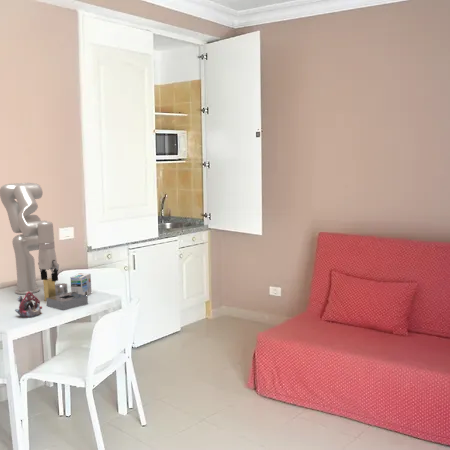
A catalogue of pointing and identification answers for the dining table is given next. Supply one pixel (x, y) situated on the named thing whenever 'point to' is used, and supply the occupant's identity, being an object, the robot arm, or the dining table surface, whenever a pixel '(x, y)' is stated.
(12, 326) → the dining table surface
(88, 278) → the light bulb box
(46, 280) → the square bit
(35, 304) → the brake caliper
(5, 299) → the dining table surface
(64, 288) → the round bit
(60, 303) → the bore block
